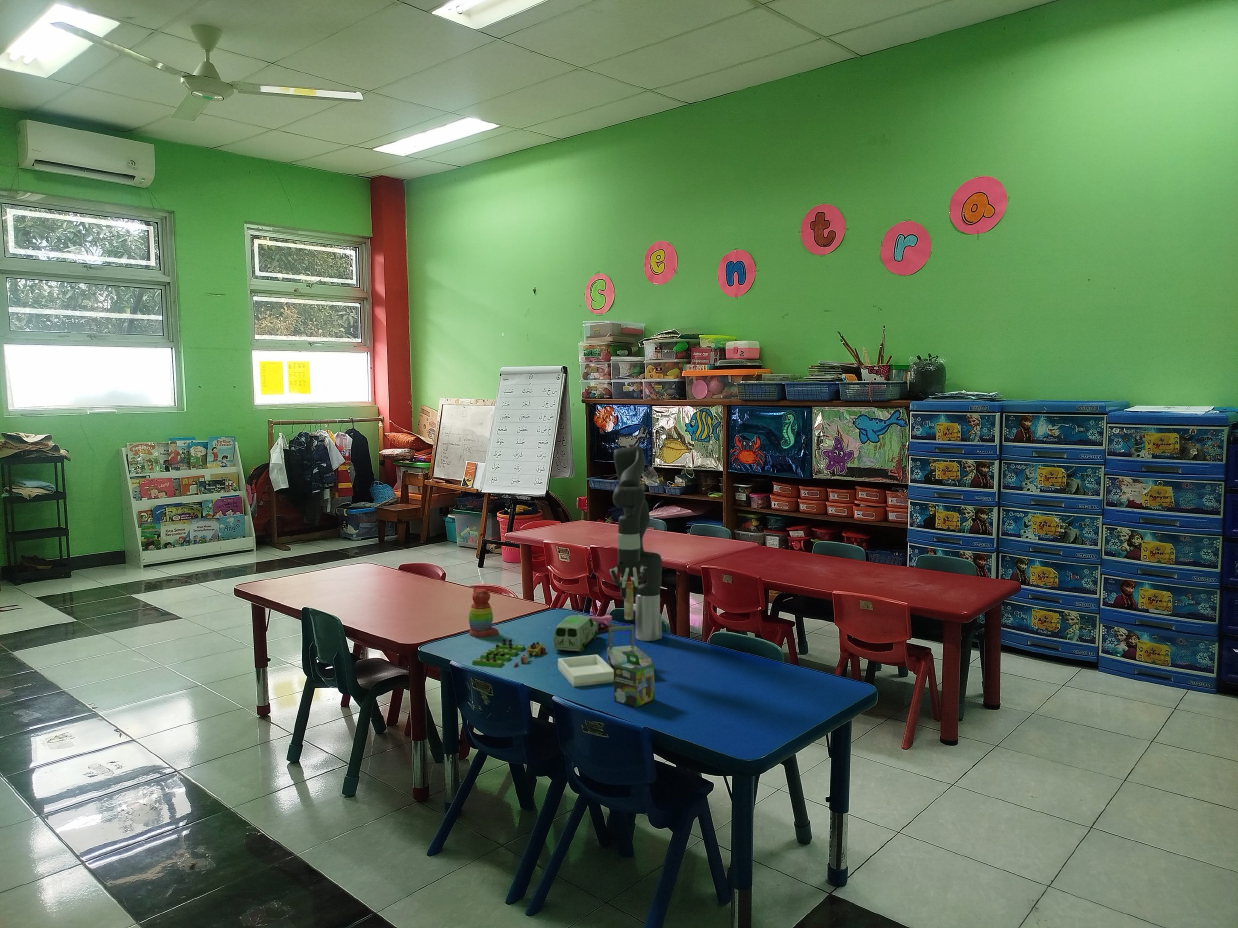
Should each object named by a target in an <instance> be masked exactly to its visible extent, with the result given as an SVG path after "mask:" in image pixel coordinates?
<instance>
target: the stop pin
mask: <svg viewBox="0 0 1238 928" xmlns="http://www.w3.org/2000/svg"><path fill="white" fill-rule="evenodd" d="M625 588H626V598H625V599H623V601H624V603H623V604H624V606H623V607H624V609H623V610H624V617H623V618H624V620H626V621H627V620H628V621H629V620H630V621H631V620H634V598H633V590H634V583H632V581H626V585H625Z"/></svg>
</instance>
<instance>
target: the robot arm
mask: <svg viewBox="0 0 1238 928" xmlns="http://www.w3.org/2000/svg"><path fill="white" fill-rule="evenodd" d="M645 457H646V456H645V452H644V450H643V448H642V447H641V446H638V445H636V446H634V445H632V446H627V447H621V448H616V449H614V451H613V462H614V467H615V470H616V471H615V472H616V476H617V480H618V484H617V485H616V487H615V489H614V490H613V492H612V493H613V494H612V502H613V505H615V507H616V508H619V509H623V513H624V514H623V515H620V516H619V517H618V523H617V525H618V526H617V527H618V528H617V530H618V531H617V563H616V566H615V567H614V568H610V569H608V571H609V574H610V577H611V579H612V582H613V584H614V585H616V586H617V587H619V596H620V597H621V598H622V599H623V600H624V599H625V598H626V588H625V585H626V582H628V578H629V577H630V579H631V582H632V583H634V590H633V599H635V631H634V635H635V638H636V640H638V641H642V642H644V641H645V642H651V641H657V640H661V639H662V638H663V637H662V636H663V635H662V631H663V629H662V624H663V623H662V620H663V619H662V617H663V616H662V613H661V612H660V611H661V605H660V604H661V602H660V600H661V599H660V598H661V597H660V595H661V594H660V593H661V587H662V578H663V577H662V572H663V558H662V556H661V554H659V553H658V552H653V551H645V549H644V544H643V542H644V541H643V540H644V539H643V538H644V535H645V533H646V531H647V529H648V528H649V525H650V519H651V516H650V509H649V505H648V501H647V500H646V493H645V491H644V489H643V488H642V487H640V485H641V478H642V475H643V473H644V470H645V465H646V458H645ZM618 572H619V574H620V577H619V578H618ZM645 579H646V581H645Z"/></svg>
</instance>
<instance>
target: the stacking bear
mask: <svg viewBox="0 0 1238 928" xmlns="http://www.w3.org/2000/svg"><path fill="white" fill-rule="evenodd" d="M472 592H473V593H472V596H471V597H472V601H473V603H472V604H471V606H470V608H469V612H468V624H469V628H470V629H469V635H470V636H472V637H474V638H475V637H476V638H479V637H481V638H482V637H490V636H494V635H497V634H499V629H498V628H497V627H493V626H492V625H493V622H494V613H493V610H492V606H491V604H490V603H489V601H490V599H491V593H490V592H489V591H488V590H487V589H486V588H476V587H475V588H474V589H473V591H472Z"/></svg>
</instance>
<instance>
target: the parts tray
mask: <svg viewBox="0 0 1238 928" xmlns="http://www.w3.org/2000/svg"><path fill="white" fill-rule="evenodd" d="M557 669H558V671H560V673H561V674H562V676H563V677H565V679H566V680H567V681H568V682H569V683H570V684H571V686H572V687H573V688H575V687H582V686H591V685H593V686H594V685H600V684H609V683H614V668H613V667H610V666H609V665H608V662H606V661H605V660H604V659H603V657H601V656H600V655H599V654H590V655H580V656H579V655H578V656H571V657H561V658H560V657H559V658H557Z"/></svg>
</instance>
